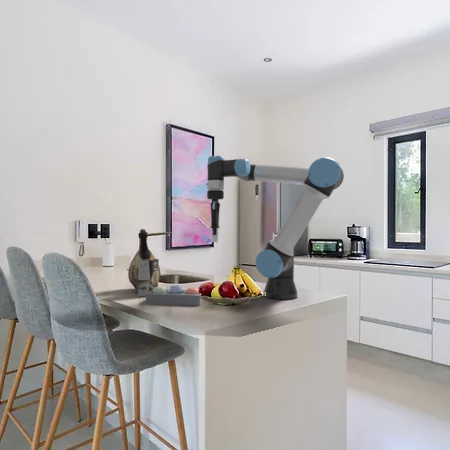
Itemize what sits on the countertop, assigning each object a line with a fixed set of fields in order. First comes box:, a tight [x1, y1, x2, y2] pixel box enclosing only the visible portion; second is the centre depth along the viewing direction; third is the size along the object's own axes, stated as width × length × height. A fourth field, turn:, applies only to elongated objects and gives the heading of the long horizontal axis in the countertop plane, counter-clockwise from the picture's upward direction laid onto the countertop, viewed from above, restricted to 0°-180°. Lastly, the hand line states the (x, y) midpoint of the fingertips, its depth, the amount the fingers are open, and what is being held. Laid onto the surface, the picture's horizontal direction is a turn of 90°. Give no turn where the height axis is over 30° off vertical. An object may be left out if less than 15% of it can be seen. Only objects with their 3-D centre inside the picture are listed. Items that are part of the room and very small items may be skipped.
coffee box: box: [137, 258, 159, 297], centre depth 162 cm, size 9×6×16 cm
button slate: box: [170, 284, 183, 294], centre depth 147 cm, size 5×5×4 cm
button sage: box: [154, 286, 167, 293], centre depth 148 cm, size 5×5×4 cm
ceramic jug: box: [127, 228, 162, 292], centre depth 172 cm, size 17×15×30 cm
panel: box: [145, 288, 204, 307], centre depth 147 cm, size 22×12×4 cm, turn 84°
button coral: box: [186, 287, 200, 294], centre depth 146 cm, size 5×5×4 cm
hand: (214, 242), depth 161 cm, fingers closed
